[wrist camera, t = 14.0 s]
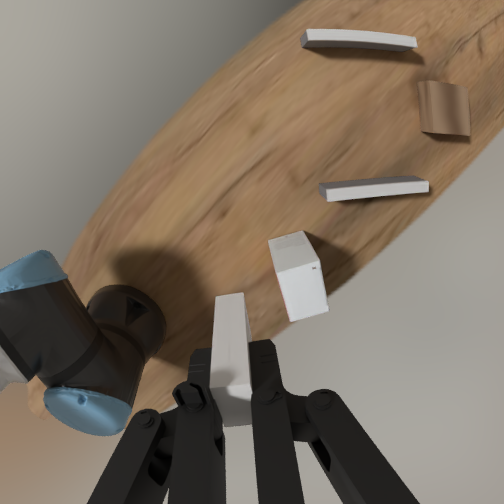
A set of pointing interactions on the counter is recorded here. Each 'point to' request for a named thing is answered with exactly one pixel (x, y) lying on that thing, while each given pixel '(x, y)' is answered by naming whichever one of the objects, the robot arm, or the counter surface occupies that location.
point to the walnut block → (443, 108)
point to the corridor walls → (367, 41)
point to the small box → (299, 276)
